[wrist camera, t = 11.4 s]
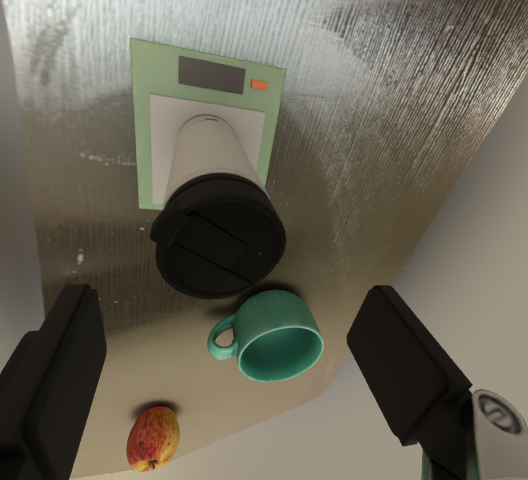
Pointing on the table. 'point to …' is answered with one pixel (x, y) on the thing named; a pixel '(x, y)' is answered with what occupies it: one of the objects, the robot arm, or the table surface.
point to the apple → (153, 439)
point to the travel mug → (215, 216)
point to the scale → (197, 107)
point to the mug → (270, 337)
